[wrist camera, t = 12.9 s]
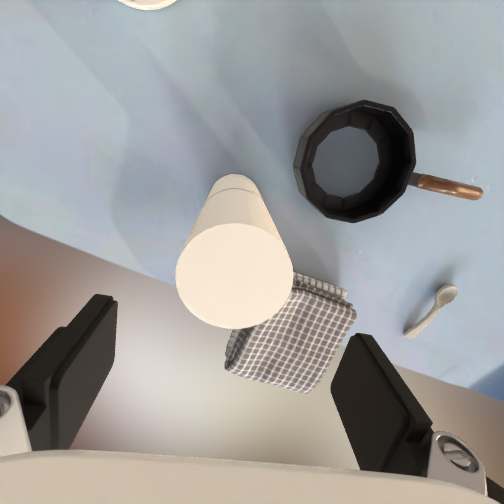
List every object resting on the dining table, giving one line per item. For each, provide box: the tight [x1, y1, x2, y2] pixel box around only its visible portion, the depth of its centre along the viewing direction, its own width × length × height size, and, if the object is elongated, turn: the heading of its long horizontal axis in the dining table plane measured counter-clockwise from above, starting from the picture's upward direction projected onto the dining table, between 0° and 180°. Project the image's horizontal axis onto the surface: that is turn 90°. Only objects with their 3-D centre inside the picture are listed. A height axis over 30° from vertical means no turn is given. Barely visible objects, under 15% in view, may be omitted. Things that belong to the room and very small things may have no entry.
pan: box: [293, 100, 483, 223], centre depth 38 cm, size 14×25×4 cm, turn 78°
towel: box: [225, 272, 356, 393], centre depth 45 cm, size 15×18×8 cm
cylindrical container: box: [175, 174, 294, 329], centre depth 29 cm, size 7×7×25 cm
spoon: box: [403, 284, 458, 339], centre depth 49 cm, size 3×12×2 cm, turn 153°
